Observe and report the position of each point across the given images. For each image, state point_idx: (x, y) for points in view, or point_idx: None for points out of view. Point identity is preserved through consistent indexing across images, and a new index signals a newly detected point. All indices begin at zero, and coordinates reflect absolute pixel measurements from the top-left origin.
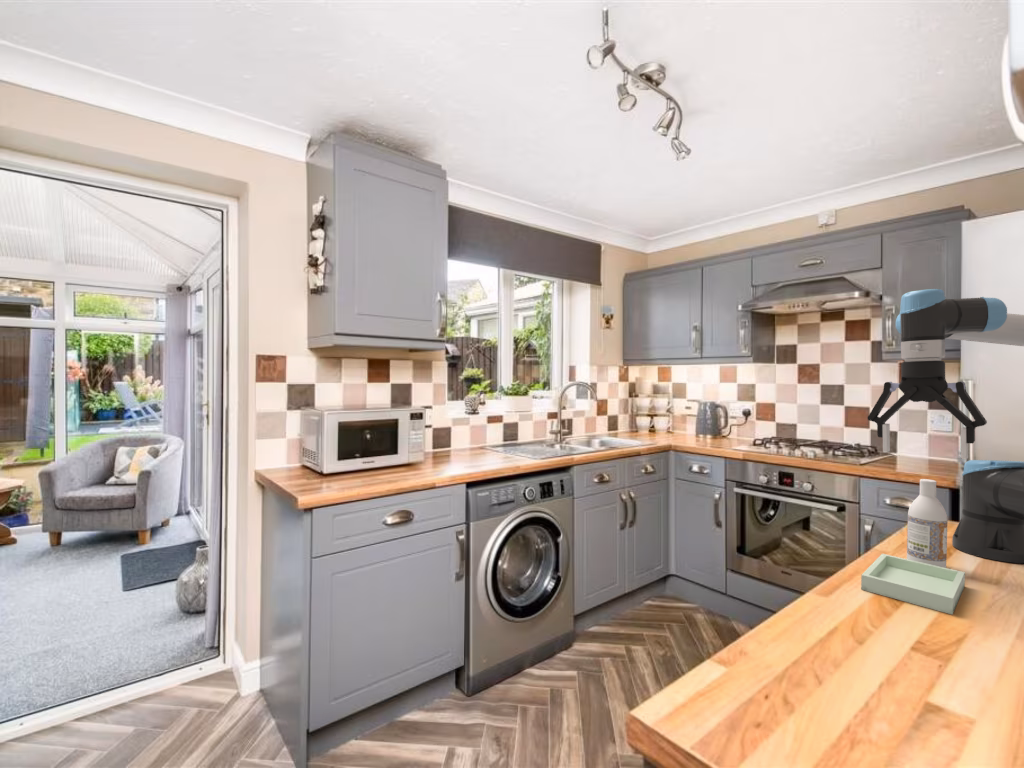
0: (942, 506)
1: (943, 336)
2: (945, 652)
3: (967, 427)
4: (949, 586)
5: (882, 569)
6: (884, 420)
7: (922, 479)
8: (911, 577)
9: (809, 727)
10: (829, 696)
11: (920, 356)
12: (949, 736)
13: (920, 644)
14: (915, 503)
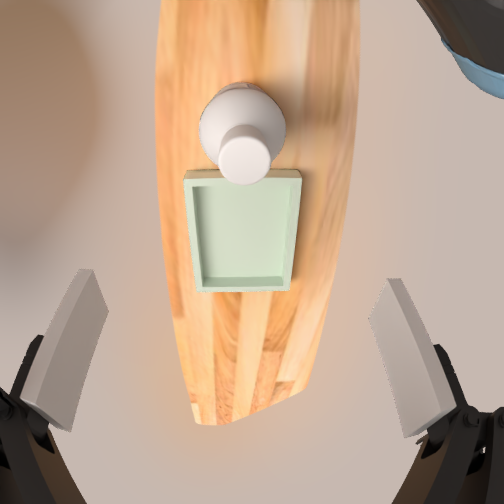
0: (279, 141)
1: None
2: (282, 341)
3: (424, 439)
4: (281, 205)
5: (196, 206)
6: (56, 449)
7: (225, 160)
8: (235, 207)
9: (240, 409)
10: (239, 397)
11: None
12: (285, 392)
13: (267, 342)
14: (216, 162)
